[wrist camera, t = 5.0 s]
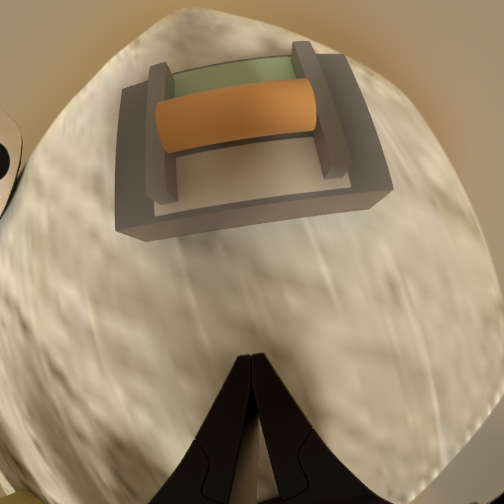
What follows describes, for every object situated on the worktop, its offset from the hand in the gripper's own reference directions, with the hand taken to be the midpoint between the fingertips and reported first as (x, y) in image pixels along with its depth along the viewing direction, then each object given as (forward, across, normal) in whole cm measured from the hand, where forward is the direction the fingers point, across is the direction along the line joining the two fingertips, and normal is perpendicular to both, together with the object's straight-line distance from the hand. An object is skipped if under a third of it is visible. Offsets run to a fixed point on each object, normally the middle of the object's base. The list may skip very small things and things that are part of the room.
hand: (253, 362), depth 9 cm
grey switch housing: (+17, -1, -4) cm, 18 cm away
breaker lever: (+12, -1, -8) cm, 14 cm away
